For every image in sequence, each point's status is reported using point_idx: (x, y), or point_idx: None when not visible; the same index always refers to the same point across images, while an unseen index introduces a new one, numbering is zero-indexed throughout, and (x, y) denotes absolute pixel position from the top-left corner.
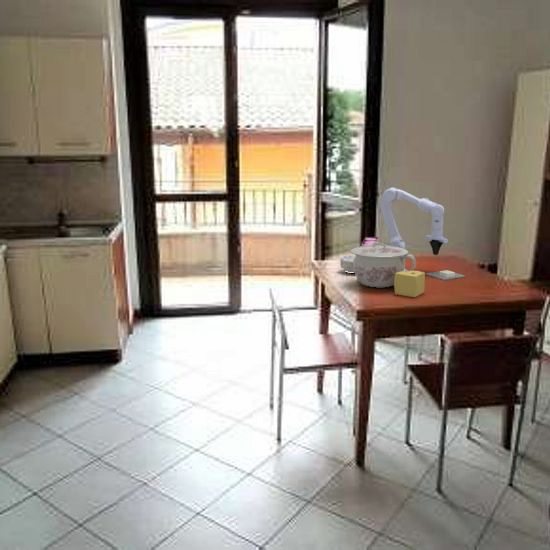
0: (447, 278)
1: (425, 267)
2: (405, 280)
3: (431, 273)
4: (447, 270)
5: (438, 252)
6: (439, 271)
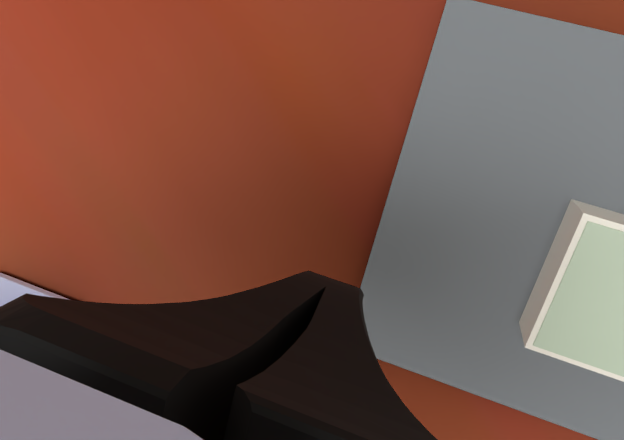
0: None
1: (116, 11)
2: None
3: (396, 305)
4: (609, 237)
5: (362, 310)
6: (530, 348)
